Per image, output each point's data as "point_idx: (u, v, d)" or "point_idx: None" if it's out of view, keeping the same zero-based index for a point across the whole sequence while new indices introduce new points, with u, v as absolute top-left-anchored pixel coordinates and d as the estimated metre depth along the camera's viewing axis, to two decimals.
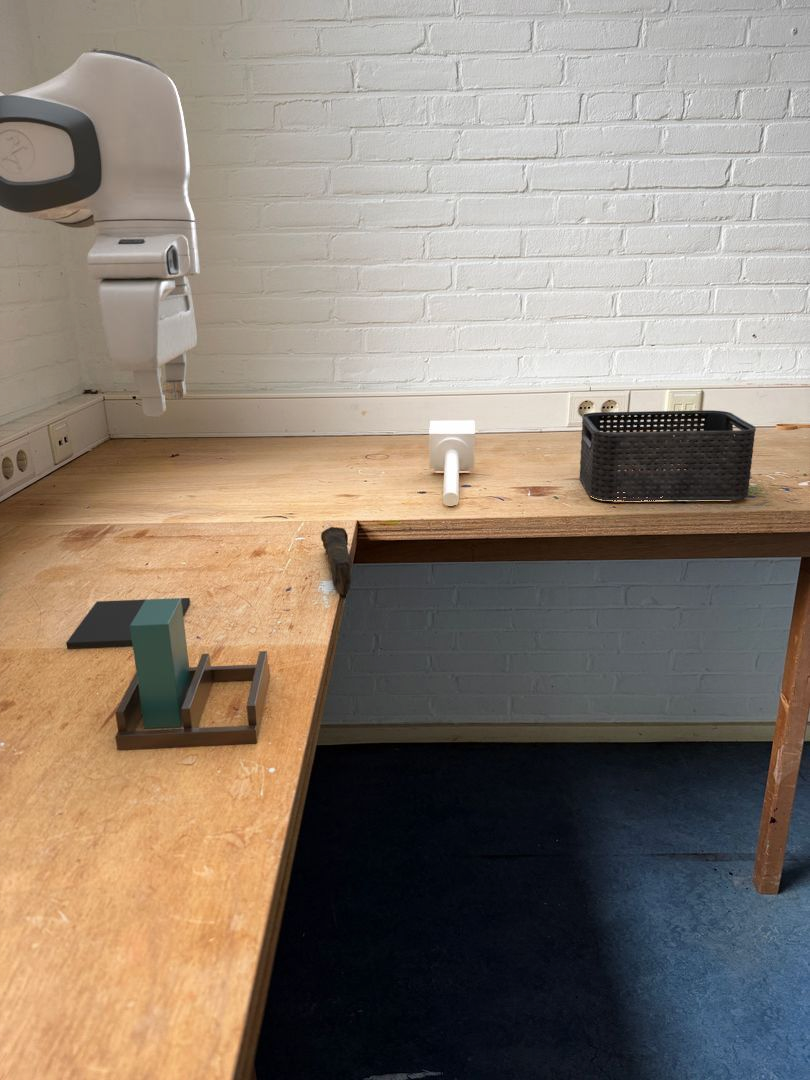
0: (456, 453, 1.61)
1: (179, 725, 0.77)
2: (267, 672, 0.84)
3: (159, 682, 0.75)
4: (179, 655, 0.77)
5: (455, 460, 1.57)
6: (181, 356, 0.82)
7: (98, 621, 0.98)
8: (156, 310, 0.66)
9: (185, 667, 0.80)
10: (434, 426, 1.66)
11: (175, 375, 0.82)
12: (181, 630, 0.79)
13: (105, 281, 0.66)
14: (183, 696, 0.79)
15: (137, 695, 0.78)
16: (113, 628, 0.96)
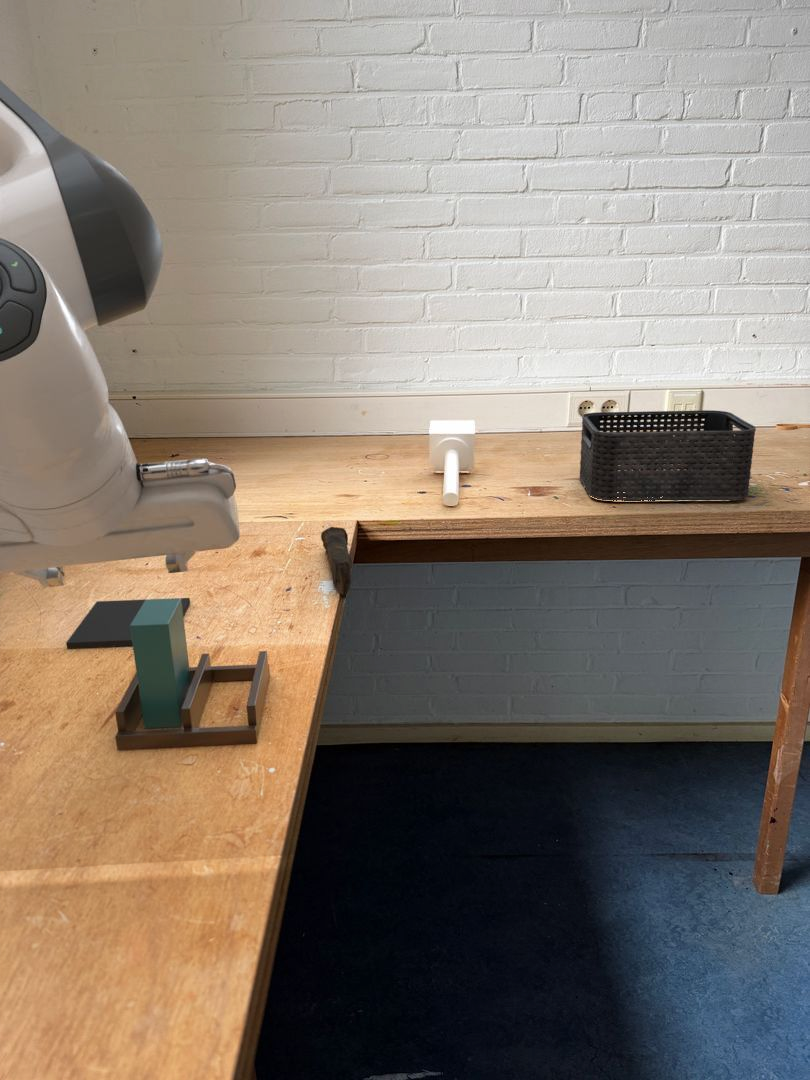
0: (456, 453, 1.61)
1: (179, 725, 0.77)
2: (267, 672, 0.84)
3: (159, 682, 0.75)
4: (179, 655, 0.77)
5: (455, 460, 1.57)
6: None
7: (98, 621, 0.98)
8: None
9: (185, 667, 0.80)
10: (434, 426, 1.66)
11: None
12: (181, 630, 0.79)
13: None
14: (183, 696, 0.79)
15: (137, 695, 0.78)
16: (113, 628, 0.96)
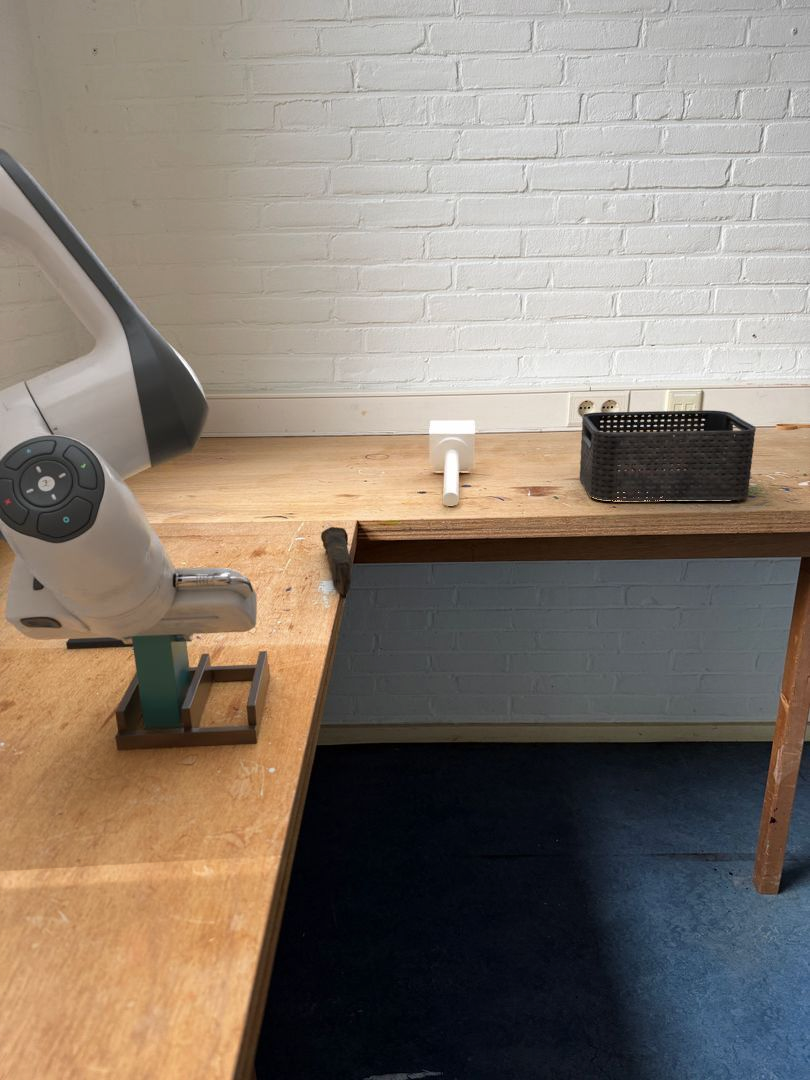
0: (456, 453, 1.61)
1: (179, 725, 0.77)
2: (267, 672, 0.84)
3: (159, 682, 0.75)
4: (179, 655, 0.77)
5: (455, 460, 1.57)
6: None
7: None
8: (18, 628, 0.67)
9: (185, 667, 0.80)
10: (434, 426, 1.66)
11: None
12: None
13: None
14: (183, 696, 0.79)
15: (137, 695, 0.78)
16: None
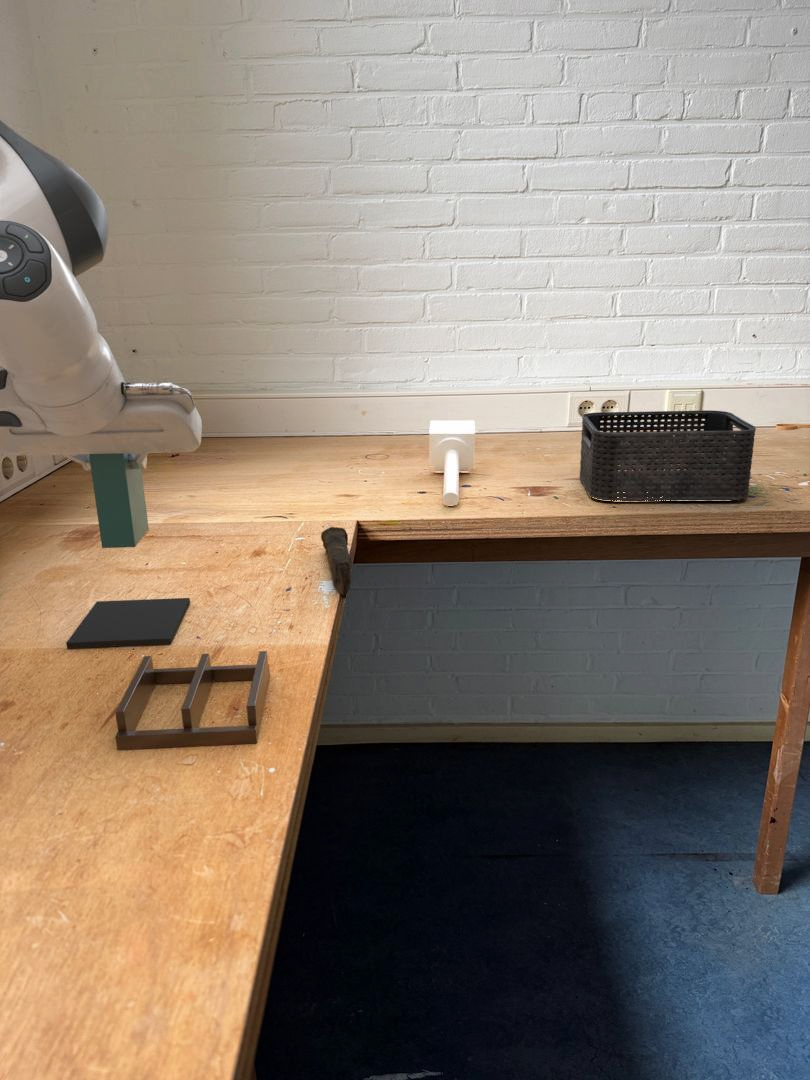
0: (456, 453, 1.61)
1: (133, 545, 0.85)
2: (267, 672, 0.84)
3: (115, 502, 0.83)
4: (134, 483, 0.86)
5: (455, 460, 1.57)
6: None
7: (98, 621, 0.98)
8: None
9: (141, 498, 0.88)
10: (434, 426, 1.66)
11: None
12: None
13: None
14: (138, 522, 0.87)
15: (137, 695, 0.78)
16: (113, 628, 0.96)
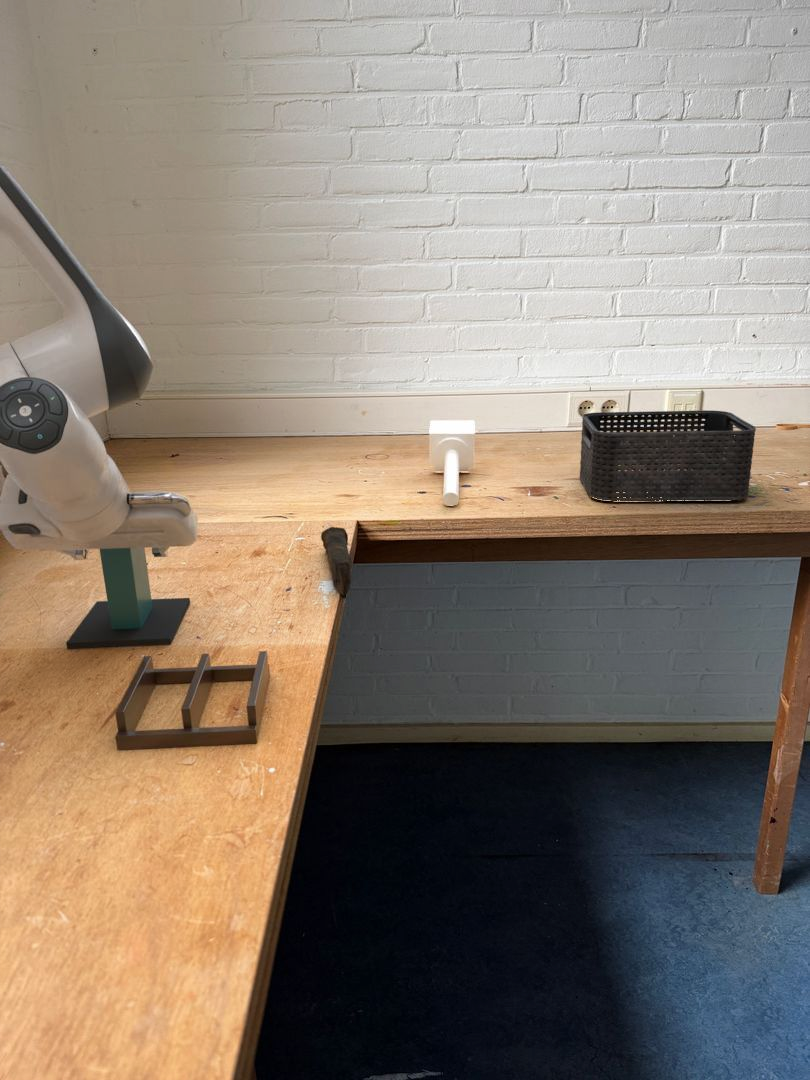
0: (456, 453, 1.61)
1: (139, 627, 0.96)
2: (267, 672, 0.84)
3: (123, 590, 0.94)
4: (139, 571, 0.96)
5: (455, 460, 1.57)
6: None
7: (98, 621, 0.98)
8: (7, 537, 0.86)
9: (145, 583, 0.99)
10: (434, 426, 1.66)
11: None
12: (142, 552, 0.98)
13: None
14: (143, 605, 0.98)
15: (137, 695, 0.78)
16: None
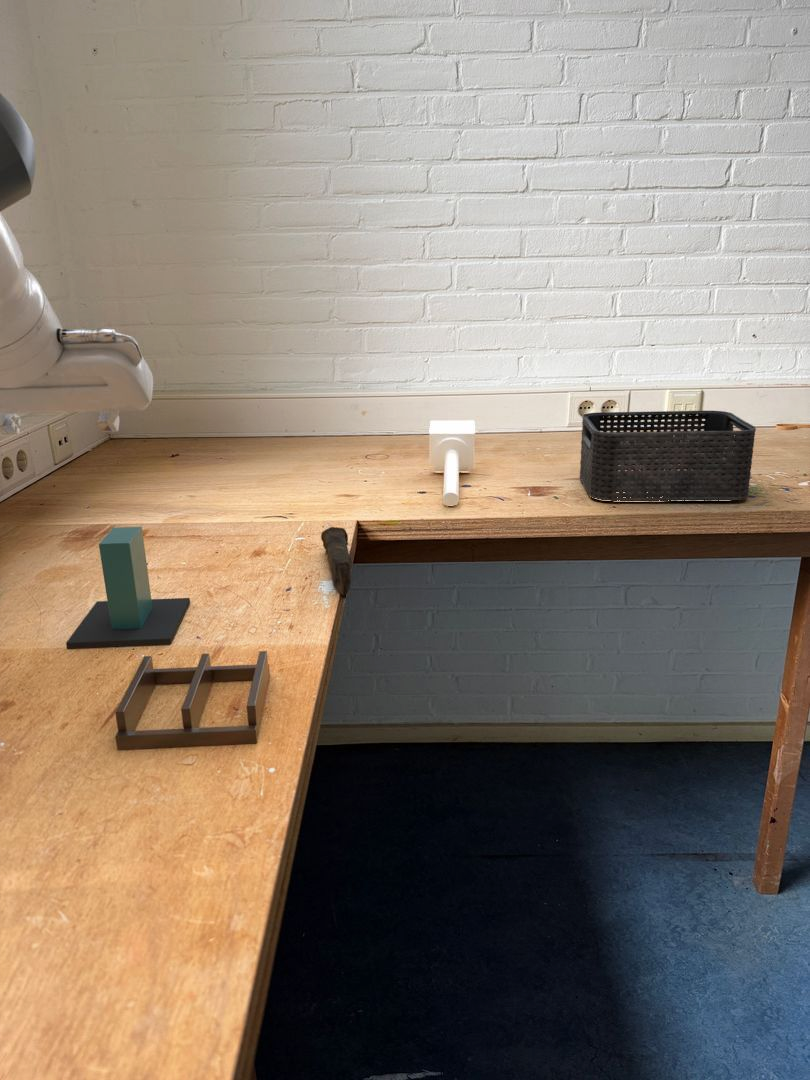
0: (456, 453, 1.61)
1: (139, 627, 0.96)
2: (267, 672, 0.84)
3: (123, 590, 0.94)
4: (139, 571, 0.96)
5: (455, 460, 1.57)
6: None
7: (98, 621, 0.98)
8: None
9: (145, 583, 0.99)
10: (434, 426, 1.66)
11: None
12: (142, 552, 0.98)
13: None
14: (143, 605, 0.98)
15: (137, 695, 0.78)
16: None
